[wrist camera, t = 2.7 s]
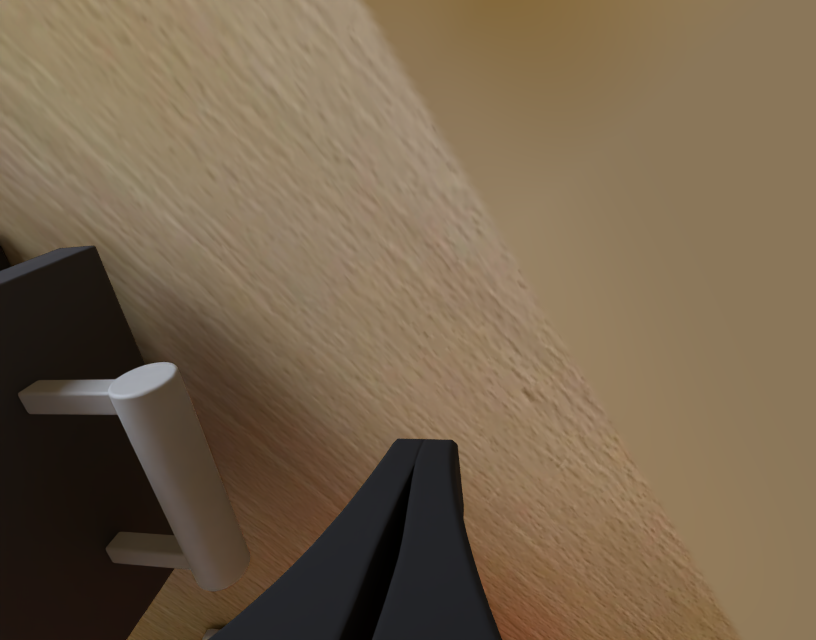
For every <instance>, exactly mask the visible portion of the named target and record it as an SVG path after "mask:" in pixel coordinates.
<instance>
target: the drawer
mask: <svg viewBox="0 0 816 640" xmlns="http://www.w3.org/2000/svg"><path fill="white" fill-rule="evenodd" d="M249 562H250V552H249V550H248V547H247V544H246V542H245V539H244V537H243V534H242V531H241V529H240V526H239V524H238V521H237V519H236V516H235V513H234V511H233V508H232V506H231V503H230V500H229V498H228V495H227V493H226V490H225V487H224V485H223V482H222V480H221V477H220V474H219V472H218V469H217V467H216V464H215V462H214V459H213V456H212V454H211V451H210V449H209V446H208V443H207V441H206V438H205V436H204V433H203V430H202V428H201V425H200V423H199V420H198V417H197V415H196V412H195V410H194V407H193V404H192V402H191V399H190V397H189V394H188V392H187V389H186V386H185V384H184V381H183V379H182V376H181V373H180V371H179V368H178V367H177V366H176V365H175V364H173V363H169V362H158V363H152V364H148V365H145V364H144V361H143V359H142V357H141V354H140V352H139V350H138V347H137V345H136V342H135V340H134V338H133V335H132V333H131V330H130V328H129V326H128V323H127V321H126V318H125V316H124V314H123V311H122V309H121V307H120V304H119V302H118V299H117V297H116V295H115V292H114V290H113V287H112V285H111V283H110V280H109V278H108V276H107V273H106V271H105V268H104V266H103V264H102V261H101V259H100V256H99V254H98V252H97V249H96V247H95V246H83V247H71V248H59V249H57V250H54V251H51V252H49V253H46V254H44V255H41V256H38V257H36V258H33V259H30V260H28V261H25V262H23V263H20V264H17V265H15V266H12V267H10V268H7V269H4V270H2V271H0V640H126V639H127V638H128V636H129V635H130V634H131V632H132V631H133V629H134V628H135V626H136V625H137V623H138V622H139V620H140V619H141V617H142V616H143V614H144V613H145V611H146V610H147V608H148V607H149V605H150V604H151V602H152V601H153V599H154V598H155V597H156V595H157V594H158V592H159V591H160V589H161V588H162V586H163V585H164V583H165V582H166V580H167V579H168V577H169V576H170V574H171V573H172V571H173V570H174V568H178V569H189V570H191V571H192V573H193V575H194V578H195V580H196V582H197V584H198V585H199V586H200V587H201V588H202V589H204V590H207V591H219V590H223V589H225V588H228V587H229V586H231V585H233V584H234V583H236V582H237V581H238V580H239V579H240V578H241V577H242V576H243V575H244V573H245V572H246V570H247V568H248V566H249Z"/></svg>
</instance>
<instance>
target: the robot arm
mask: <svg viewBox="0 0 816 640" xmlns="http://www.w3.org/2000/svg"><path fill="white" fill-rule="evenodd" d="M463 513H464V503H463V494H462V484H461V474H460V464H459V455H458V445H457V444H456V443H455V442H454V441H453V440H435V439H397V440H396V441H395V442H394V443H393V444H392V446H391V447H390V449H389V450H388V451H387V453H386V454H385V456H384V457H383V459H382V460H381V461H380V463H379V464H378V465H377V467H376V468H375V470H374V471H373V472H372V474H371V475H370V476H369V478H368V479H367V480H366V482H365V483H364V484H363V486H362V487H361V488H360V489H359V491H358V492H357V493H356V494H355V496H354V497H353V498H352V499H351V501H350V502H349V503H348V504H347V506H346V507H345V508H344V509H343V511H342V512H341V513H340V514H339V515H338V516H337V518H336V519H335V520H334V521H333V522H332V523H331V524H330V526H329V527H328V528H327V529H326V530H325V531H324V532H323V533H322V535H321V536H320V537H319V538H318V539H317V540H316V541H315V542H314V544H313V545H312V546H311V547H310V548H309V549H308V550H307V551H306V552H305V553H304V554H303V555H302V556H301V557H300V558H299V559H298V560H297V561H296V562H295V563H294V564H293V565H292V566H291V567H290V568H289V569H288V570H287V571H286V572H285V573H284V574H283V575H282V576H281V577H280V578H279V579H278V580H277V581H276V582H275V583H274V584H273V585H271V586H270V587H269V588H268V589H267V590H266V591H265V592H264V593H263V594H261V595H260V596H259V597H258V598H257V599H256V600H255V601H254V602H252V603H251V604H250V605H249V606H248V607H247V608H246V609H245V610H243V611H242V612H241V613H240V614H239V615H238V616H236V617H235V618H234V619H233V620H232V621H230V622H229V623H228V624H227V625H226V626H224V627H223V628H222V629H209V630H207V631H206V633H205V635H204V637H203V639H202V640H502V638H501V636H500V633H499V631H498V628H497V625H496V623H495V620H494V617H493V615H492V612H491V609H490V607H489V604H488V601H487V598H486V595H485V592H484V589H483V586H482V584H481V580H480V577H479V574H478V571H477V568H476V565H475V561H474V558H473V554H472V551H471V547H470V544H469V540H468V537H467V532H466V528H465V524H464V520H463Z"/></svg>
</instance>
